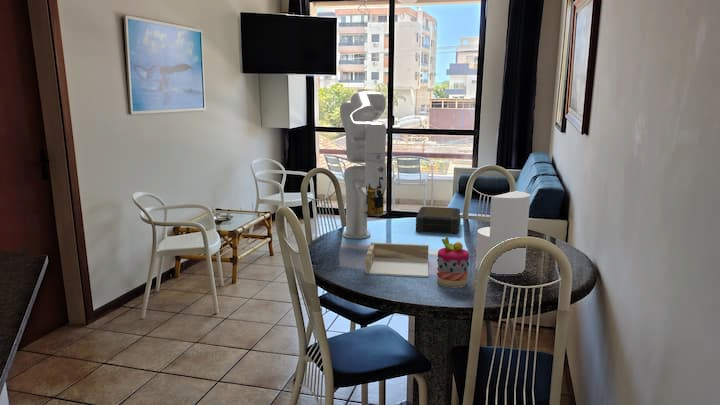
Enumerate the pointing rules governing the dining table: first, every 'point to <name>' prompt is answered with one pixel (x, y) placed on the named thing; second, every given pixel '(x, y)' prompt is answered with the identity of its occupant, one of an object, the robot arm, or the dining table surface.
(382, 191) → the robot arm
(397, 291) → the dining table surface
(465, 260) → the cake
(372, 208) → the condiment
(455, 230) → the cash box
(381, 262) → the mat
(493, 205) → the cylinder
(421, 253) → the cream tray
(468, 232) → the dining table surface
